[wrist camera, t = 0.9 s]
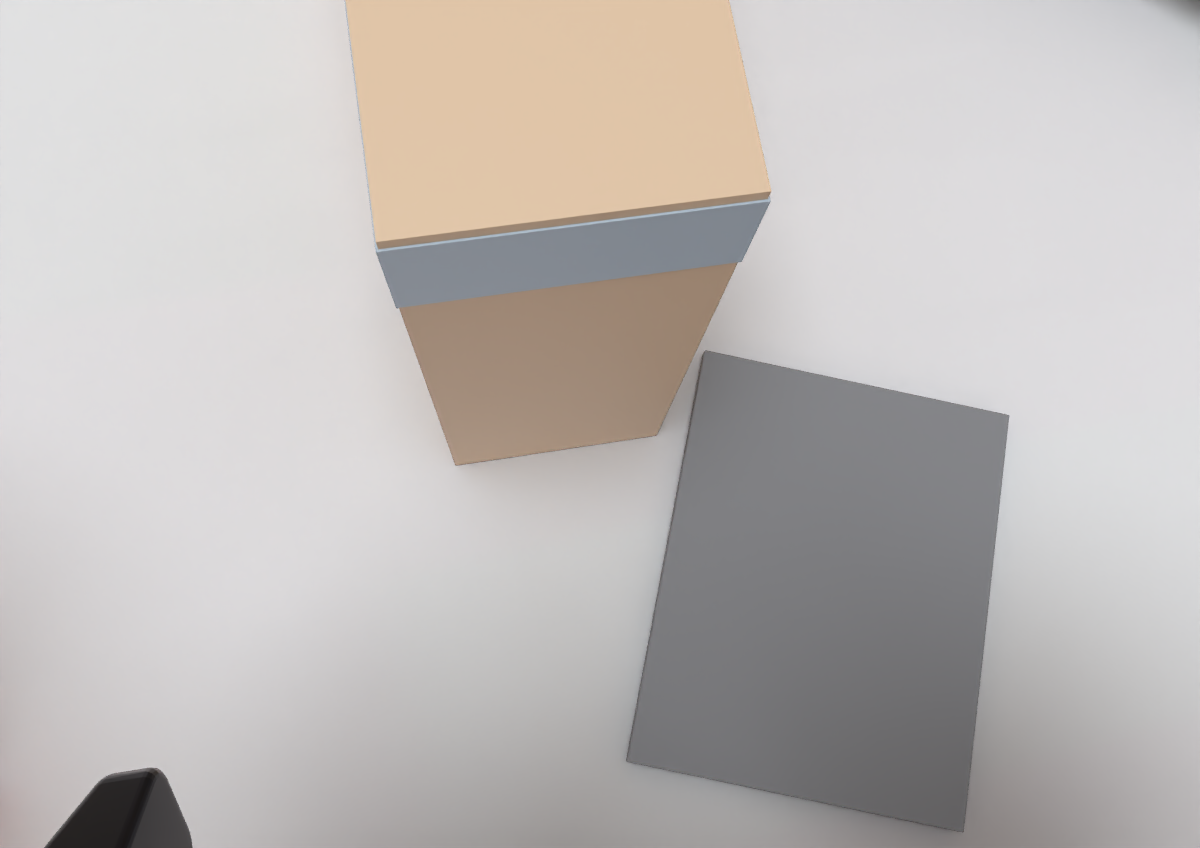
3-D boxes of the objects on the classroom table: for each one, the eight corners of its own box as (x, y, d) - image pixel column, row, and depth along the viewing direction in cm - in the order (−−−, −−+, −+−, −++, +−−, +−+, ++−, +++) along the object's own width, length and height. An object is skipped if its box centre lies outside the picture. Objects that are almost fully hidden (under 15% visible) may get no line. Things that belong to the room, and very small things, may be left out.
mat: (955, 830, 22) (963, 832, 22) (626, 760, 22) (627, 761, 22) (1001, 419, 24) (1009, 415, 24) (702, 355, 24) (705, 350, 24)
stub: (657, 436, 24) (774, 193, 12) (454, 467, 23) (373, 244, 12) (626, 267, 25) (707, -109, 13) (430, 293, 24) (333, -72, 13)
